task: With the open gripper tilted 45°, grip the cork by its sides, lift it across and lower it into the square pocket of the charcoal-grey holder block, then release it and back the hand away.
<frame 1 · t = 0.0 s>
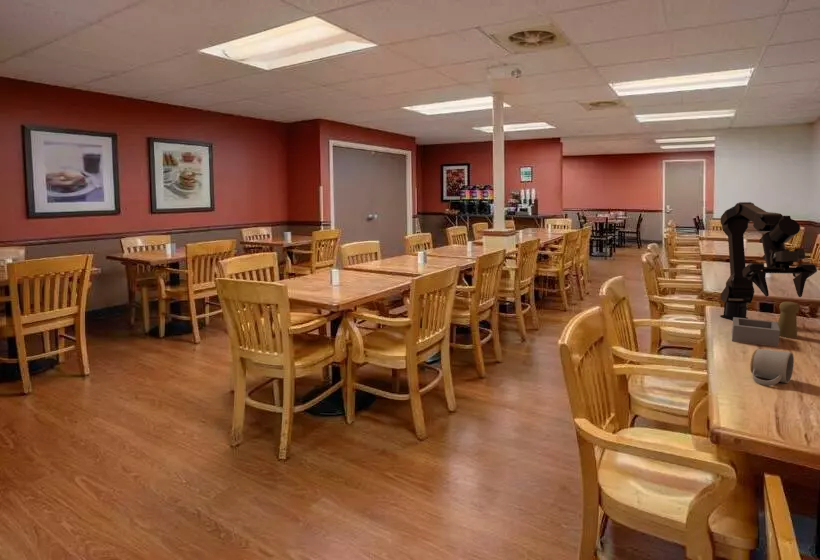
hand: (783, 296, 163), 15 cm above the table, tool tilted 35°, fingers open, 9 cm apart
ceramic mug: (769, 381, 136), on the table
cork: (785, 335, 174), on the table
holder block: (753, 338, 171), on the table
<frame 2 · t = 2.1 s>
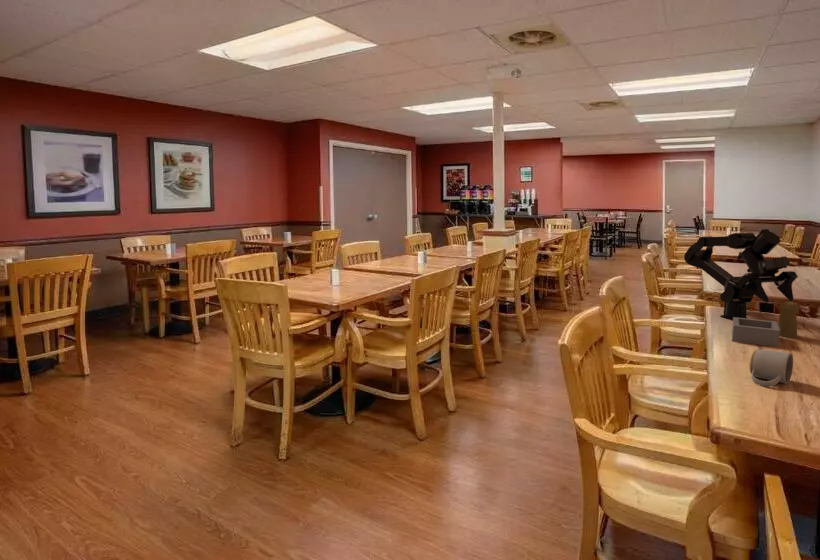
hand: (779, 300, 176), 11 cm above the table, tool tilted 45°, fingers open, 9 cm apart
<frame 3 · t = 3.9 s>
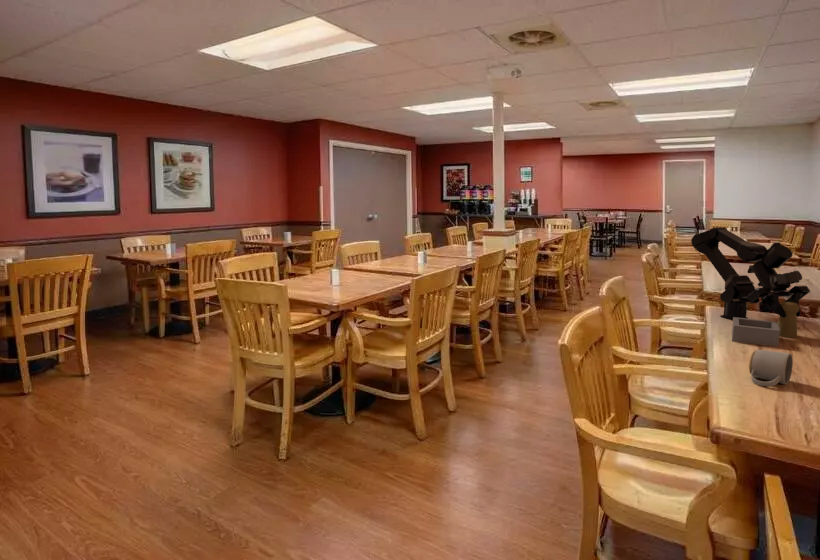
hand: (791, 316, 172), 7 cm above the table, tool tilted 45°, fingers closed on cork, 5 cm apart
cork: (785, 335, 174), on the table, touching gripper
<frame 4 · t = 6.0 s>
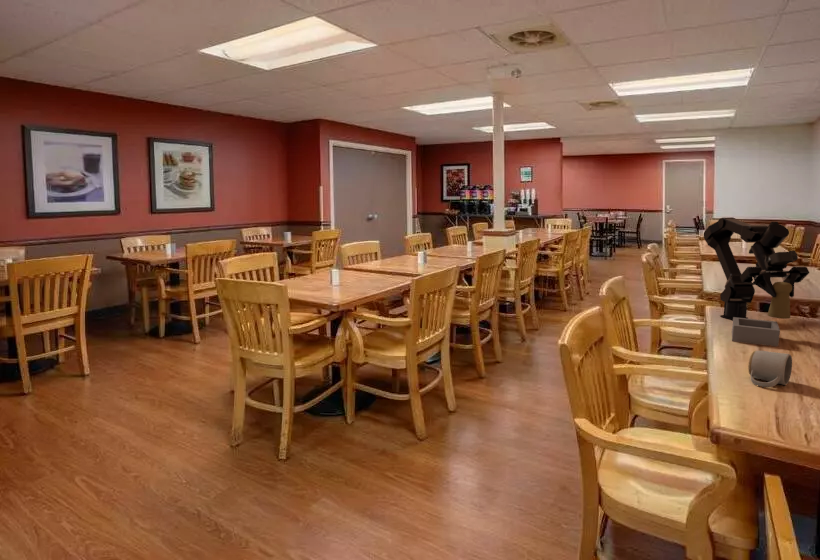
hand: (783, 296, 168), 14 cm above the table, tool tilted 45°, fingers closed on cork, 5 cm apart
cork: (778, 316, 171), point 7 cm above the table, touching gripper
when the fingers open (9 cm above the table, at t = 8.0 s): cork drops 1 cm, resting on holder block.
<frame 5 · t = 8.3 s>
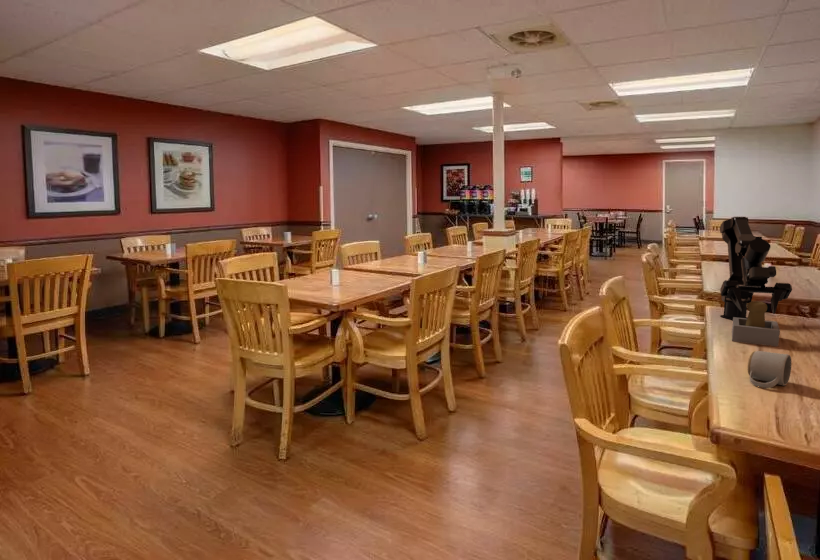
hand: (758, 312, 168), 9 cm above the table, tool tilted 45°, fingers open, 8 cm apart
cork: (754, 336, 171), point 1 cm above the table, touching holder block
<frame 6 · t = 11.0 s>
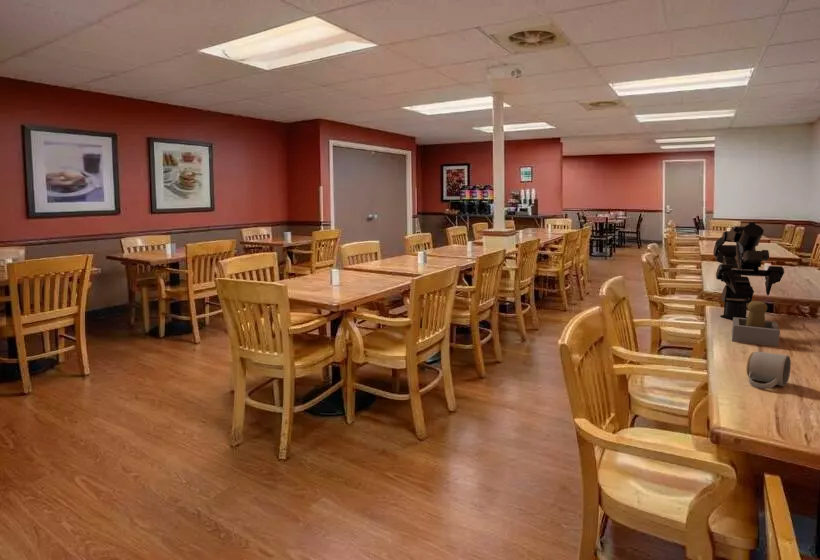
hand: (752, 293, 175), 13 cm above the table, tool tilted 45°, fingers open, 9 cm apart
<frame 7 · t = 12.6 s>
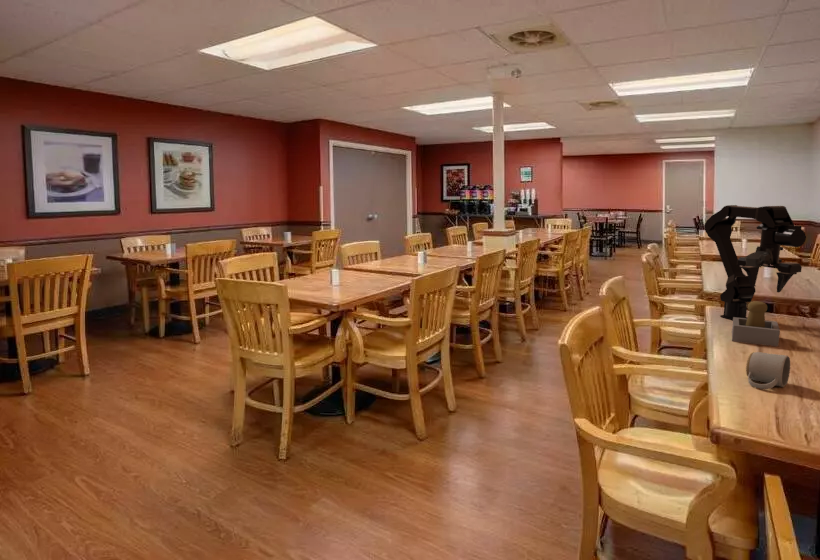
hand: (765, 289, 182), 13 cm above the table, tool pointing down, fingers open, 9 cm apart
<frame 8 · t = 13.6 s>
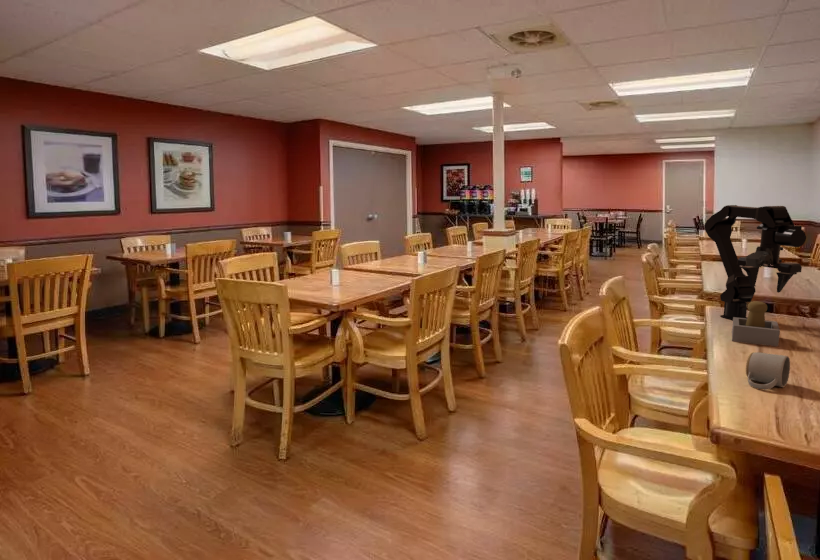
hand: (765, 289, 182), 13 cm above the table, tool pointing down, fingers open, 9 cm apart
at the end: cork 0.2 cm off-centre on the holder block, point 0.8 cm above the holder block's base; cork tilted 0°; the gripper is holding nothing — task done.
